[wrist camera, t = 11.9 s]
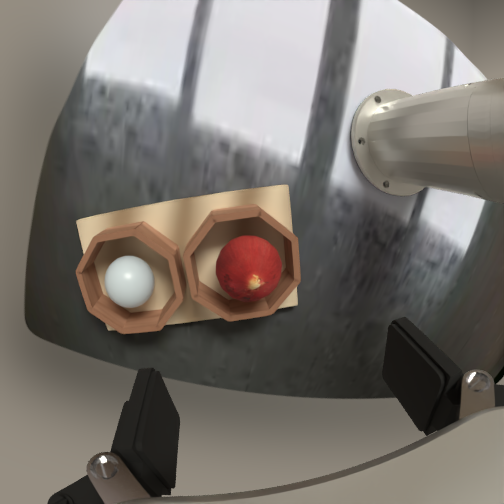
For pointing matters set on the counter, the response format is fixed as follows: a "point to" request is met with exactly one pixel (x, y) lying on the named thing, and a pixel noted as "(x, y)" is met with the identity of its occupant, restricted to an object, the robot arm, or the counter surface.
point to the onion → (248, 268)
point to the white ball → (129, 281)
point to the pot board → (187, 256)
